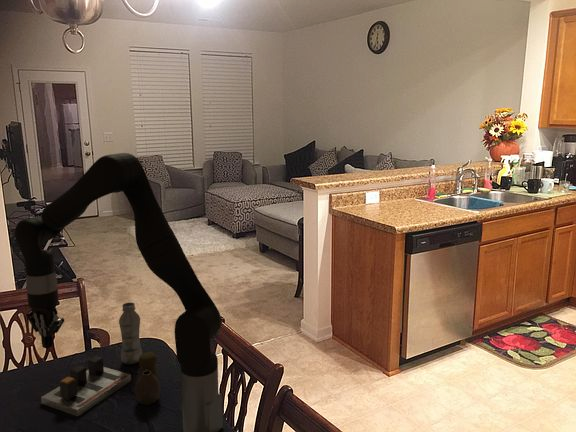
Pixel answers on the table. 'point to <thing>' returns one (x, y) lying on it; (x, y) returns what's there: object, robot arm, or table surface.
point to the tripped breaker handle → (68, 388)
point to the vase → (147, 388)
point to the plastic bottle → (130, 334)
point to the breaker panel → (88, 387)
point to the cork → (148, 363)
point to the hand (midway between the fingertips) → (47, 346)
